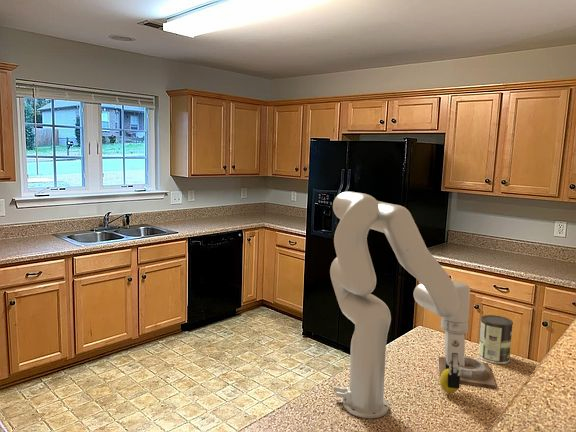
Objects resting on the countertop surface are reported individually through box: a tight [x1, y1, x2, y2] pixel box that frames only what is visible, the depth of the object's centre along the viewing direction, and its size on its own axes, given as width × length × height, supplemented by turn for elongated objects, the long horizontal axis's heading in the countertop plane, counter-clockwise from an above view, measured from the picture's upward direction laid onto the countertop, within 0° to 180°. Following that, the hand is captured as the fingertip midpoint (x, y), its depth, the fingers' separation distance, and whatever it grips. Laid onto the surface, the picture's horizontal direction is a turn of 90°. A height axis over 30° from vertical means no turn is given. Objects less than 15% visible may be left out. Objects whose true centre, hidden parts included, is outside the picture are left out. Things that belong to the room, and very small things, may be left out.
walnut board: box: [437, 356, 497, 390], centre depth 146 cm, size 16×16×1 cm
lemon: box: [439, 368, 459, 395], centre depth 132 cm, size 6×6×8 cm
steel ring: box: [459, 355, 485, 378], centre depth 146 cm, size 11×11×2 cm
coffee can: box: [478, 314, 514, 365], centre depth 157 cm, size 10×10×14 cm
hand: (452, 379), depth 132 cm, fingers open, 9 cm apart
